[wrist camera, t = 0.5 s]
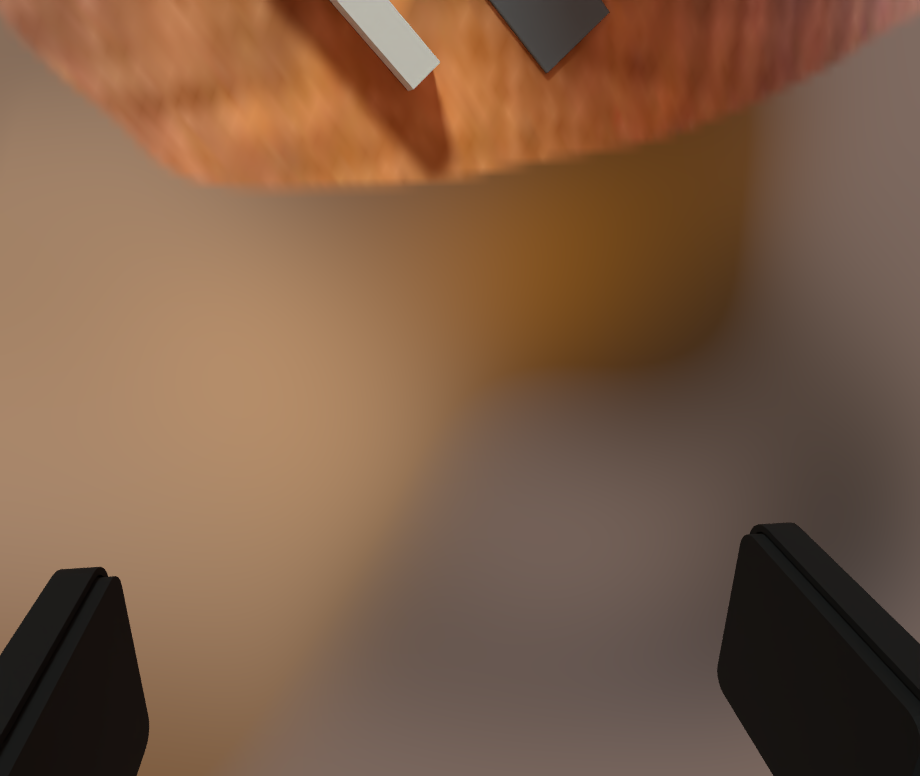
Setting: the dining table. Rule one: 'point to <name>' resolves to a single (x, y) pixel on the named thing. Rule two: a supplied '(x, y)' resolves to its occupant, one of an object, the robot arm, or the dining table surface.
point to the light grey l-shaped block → (390, 38)
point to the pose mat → (550, 25)
